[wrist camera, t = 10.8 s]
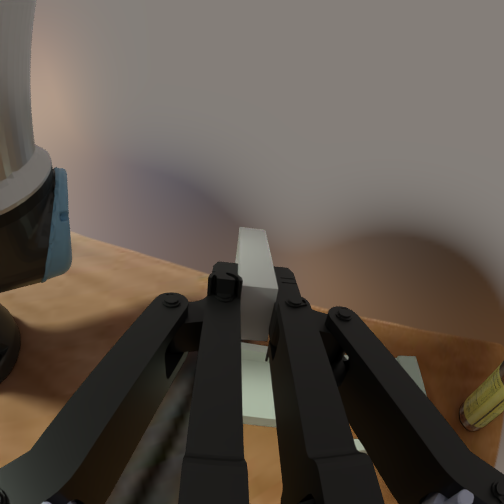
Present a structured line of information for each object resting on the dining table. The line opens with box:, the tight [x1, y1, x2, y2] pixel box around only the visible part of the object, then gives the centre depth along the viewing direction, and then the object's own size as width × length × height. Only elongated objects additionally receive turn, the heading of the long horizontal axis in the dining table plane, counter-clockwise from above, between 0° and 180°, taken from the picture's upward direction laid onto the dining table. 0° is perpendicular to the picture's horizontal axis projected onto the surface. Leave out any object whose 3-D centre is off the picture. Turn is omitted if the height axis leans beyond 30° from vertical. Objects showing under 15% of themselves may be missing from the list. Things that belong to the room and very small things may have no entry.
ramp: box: [241, 342, 427, 454], centre depth 29 cm, size 28×12×5 cm, turn 85°
